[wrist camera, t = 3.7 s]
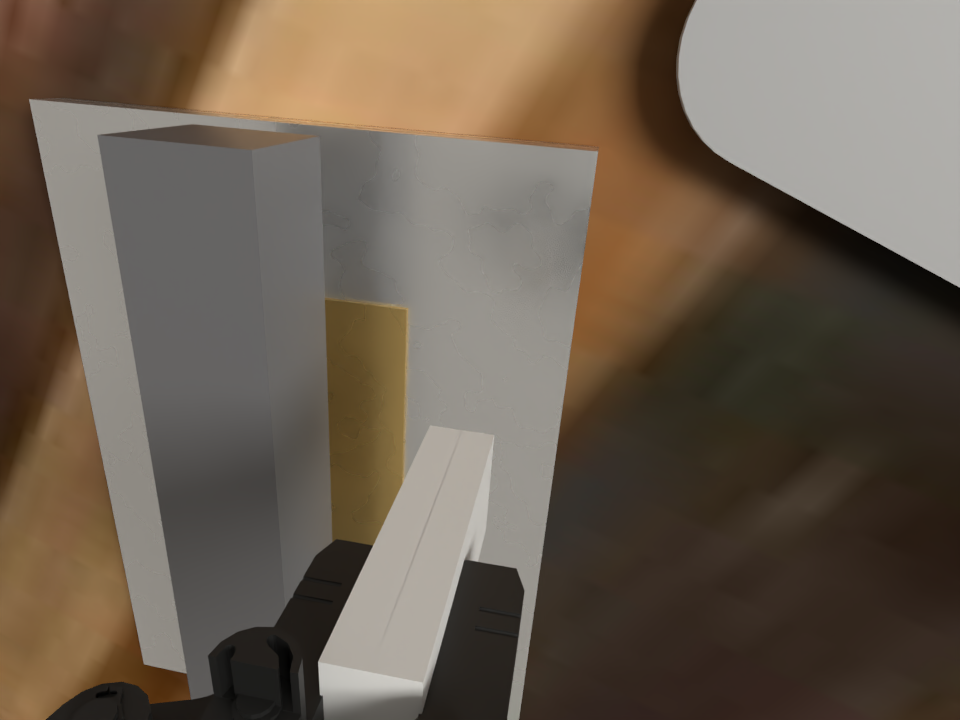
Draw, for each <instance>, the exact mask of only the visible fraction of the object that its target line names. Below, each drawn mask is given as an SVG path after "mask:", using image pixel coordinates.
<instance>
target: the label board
mask: <svg viewBox="0 0 960 720" xmlns="http://www.w3.org/2000/svg"><path fill="white" fill-rule="evenodd" d="M29 101H30V106H31V111H32V116H33V121H34V126H35V131H36V135H37V140H38V145H39V150H40V155H41V160H42V165H43V170H44V175H45V180H46V185H47V190H48V194H49V199H50V204H51V209H52V214H53V219H54V224H55V229H56V234H57V239H58V244H59V249H60V253H61V258H62V263H63V268H64V273H65V278H66V283H67V288H68V293H69V298H70V303H71V308H72V313H73V317H74V322H75V327H76V332H77V337H78V342H79V347H80V352H81V357H82V362H83V367H84V372H85V376H86V381H87V386H88V391H89V396H90V401H91V406H92V411H93V416H94V421H95V426H96V431H97V435H98V440H99V445H100V450H101V455H102V460H103V465H104V470H105V475H106V480H107V485H108V490H109V495H110V499H111V504H112V509H113V514H114V519H115V524H116V529H117V534H118V539H119V544H120V549H121V554H122V558H123V563H124V568H125V573H126V578H127V583H128V588H129V593H130V598H131V603H132V608H133V613H134V617H135V622H136V627H137V632H138V637H139V642H140V647H141V652H142V657H143V662H144V664H145V665H149V666H154V667H159V668H163V669H168V670H173V671H177V672H182V673H187V672H186V665H185V659H184V653H183V647H182V641H181V635H180V629H179V623H178V617H177V611H176V605H175V599H174V593H173V587H172V581H171V575H170V569H169V563H168V557H167V551H166V545H165V539H164V533H163V527H162V521H161V515H160V509H159V503H158V497H157V491H156V485H155V479H154V473H153V467H152V461H151V455H150V449H149V443H148V437H147V431H146V425H145V419H144V413H143V407H142V401H141V395H140V389H139V383H138V377H137V371H136V365H135V359H134V353H133V347H132V341H131V335H130V329H129V323H128V317H127V311H126V305H125V299H124V293H123V287H122V281H121V275H120V269H119V263H118V257H117V251H116V245H115V239H114V233H113V227H112V221H111V215H110V209H109V203H108V197H107V191H106V185H105V178H104V172H103V166H102V160H101V154H100V148H99V142H98V136H97V135H101V134H110V133H119V132H127V131H136V130H145V129H154V128H163V127H171V126H180V125H189V124H197V125H207V126H218V127H229V128H239V129H250V130H260V131H271V132H282V133H292V134H303V135H314V136H320V159H321V191H322V223H323V255H324V287H325V320H326V352H327V384H328V416H329V448H330V480H331V512H332V542H333V541H334V540H336V539H339V540H345V541H351V542H357V543H362V544H368V545H374V543H375V541H376V539H377V537H378V534H379V532H380V530H381V528H382V526H383V524H384V522H385V520H386V518H387V515H388V513H389V511H390V509H391V507H392V505H393V503H394V501H395V499H396V496H397V494H398V492H399V490H400V488H401V486H402V484H403V482H404V480H405V477H406V475H407V473H408V471H409V469H410V467H411V465H412V463H413V461H414V458H415V456H416V454H417V452H418V450H419V448H420V446H421V444H422V442H423V440H424V437H425V435H426V433H427V431H428V429H429V427H430V426H437V427H444V428H451V429H458V430H464V431H471V432H478V433H485V434H491V435H494V445H493V456H492V467H491V478H490V489H489V500H488V511H487V522H486V531H485V535H484V539H483V543H482V547H481V552H480V556H479V560H478V562H482V563H488V564H494V565H499V566H505V567H511V568H517V571H518V574H519V577H520V579H521V582H522V585H523V588H524V590H525V592H524V599H523V607H522V615H521V623H520V631H519V638H518V646H517V653H516V660H515V667H514V674H513V681H512V688H511V695H510V702H509V709H508V716H507V720H519V715H520V708H521V701H522V694H523V686H524V679H525V672H526V665H527V658H528V651H529V643H530V636H531V629H532V622H533V615H534V608H535V600H536V593H537V586H538V579H539V572H540V564H541V557H542V550H543V543H544V536H545V529H546V521H547V514H548V507H549V500H550V493H551V486H552V478H553V471H554V464H555V457H556V450H557V443H558V435H559V428H560V421H561V414H562V407H563V399H564V392H565V385H566V378H567V371H568V364H569V356H570V349H571V342H572V335H573V328H574V321H575V313H576V306H577V299H578V292H579V285H580V277H581V270H582V263H583V256H584V249H585V242H586V234H587V227H588V220H589V213H590V206H591V199H592V191H593V184H594V177H595V170H596V163H597V155H598V147H595V146H584V145H573V144H562V143H551V142H540V141H529V140H518V139H507V138H496V137H485V136H474V135H463V134H452V133H441V132H430V131H419V130H408V129H396V128H385V127H374V126H363V125H352V124H341V123H330V122H319V121H308V120H297V119H286V118H275V117H264V116H253V115H242V114H231V113H220V112H209V111H198V110H187V109H176V108H165V107H154V106H143V105H132V104H121V103H110V102H99V101H88V100H77V99H66V98H50V99H29Z"/></svg>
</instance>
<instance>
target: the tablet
mask: <svg viewBox="0 0 960 720" xmlns="http://www.w3.org/2000/svg"><path fill="white" fill-rule="evenodd" d="M676 80H677V87H678V95H679V98H680V101H681V105H682V108H683V111H684V113H685V115H686V117H687V119H688V121H689V123H690V125H691V127H692V128H693V130H694V131H695V133H696V134H697V135H698V137H699V138H700V139H701V140H702V141H703V142H704V143H705V144H706V145H707V146H708V147H709V148H710V149H711V150H712V151H713V152H715V153H716V154H718V155H719V156H721V157H722V158H724V159H725V160H727V161H728V162H730V163H732V164H734V165H736V166H737V167H739V168H741V169H743V170H745V171H747V172H748V173H750V174H752V175H754V176H756V177H758V178H759V179H761V180H763V181H765V182H767V183H769V184H770V185H772V186H774V187H776V188H778V189H780V190H781V191H783V192H785V193H787V194H789V195H791V196H792V197H794V198H796V199H798V200H800V201H802V202H804V203H805V204H807V205H809V206H811V207H813V208H815V209H816V210H818V211H820V212H822V213H824V214H826V215H827V216H829V217H831V218H833V219H835V220H837V221H838V222H840V223H842V224H844V225H846V226H848V227H849V228H851V229H853V230H855V231H857V232H859V233H861V234H862V235H864V236H866V237H868V238H870V239H872V240H873V241H875V242H877V243H879V244H881V245H883V246H884V247H886V248H888V249H890V250H892V251H894V252H895V253H897V254H899V255H901V256H903V257H905V258H906V259H908V260H910V261H912V262H914V263H916V264H917V265H919V266H921V267H923V268H925V269H927V270H929V271H930V272H932V273H934V274H936V275H938V276H940V277H941V278H943V279H945V280H947V281H949V282H951V283H952V284H954V285H956V286H958V287H960V0H695V1H694V3H693V5H692V8H691V10H690V12H689V14H688V16H687V18H686V21H685V24H684V27H683V30H682V33H681V36H680V40H679V46H678V52H677V58H676Z"/></svg>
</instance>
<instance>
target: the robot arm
mask: <svg viewBox="0 0 960 720" xmlns="http://www.w3.org/2000/svg"><path fill="white" fill-rule="evenodd" d="M493 445H494V435H491V434H485V433H478V432H471V431H464V430H458V429H451V428H444V427H437V426H430V427H429V429H428V431H427V433H426V435H425V437H424V440H423V442H422V444H421V446H420V448H419V450H418V452H417V454H416V456H415V458H414V461H413V463H412V465H411V467H410V469H409V471H408V473H407V475H406V477H405V480H404V482H403V484H402V486H401V488H400V490H399V492H398V494H397V496H396V499H395V501H394V503H393V505H392V507H391V509H390V511H389V513H388V515H387V518H386V520H385V522H384V524H383V526H382V528H381V530H380V532H379V534H378V537H377V539H376V541H375V543H374V545H368V544H362V543H357V542H351V541H345V540H339V539H336V540H334V541H333V542H332V543H331V544H329V545H328V546H327V547H326V548H324V549H323V550H322V551H320V552H319V553H318V554H317V555H315V557H314V559H313V561H312V562H311V564H310V566H309V568H308V569H307V571H306V573H305V574H304V576H303V580H301V581H300V583H299V585H298V586H297V588H296V590H295V592H294V593H293V597H292V598H290V600H289V602H288V604H287V605H286V607H285V609H284V610H283V612H282V614H281V616H280V617H279V619H278V621H277V622H276V624H275V626H274V627H253V628H249V629H246V630H242V631H238V632H236V633H235V634H233V635H231V636H230V637H228V638H226V639H224V640H223V641H221V642H220V643H219V644H218V645H217V646H216V647H215V648H214V649H213V651H212V652H211V653H210V654H209V655H208V660H209V667H210V673H211V679H212V686H213V692H214V694H212V695H209V696H207V697H202V698H197V699H192V700H184V701H174V702H165V703H156V704H149V700H148V695H147V694H145V693H144V692H143V691H142V690H141V689H140V688H139V687H138V686H136V685H132V684H128V683H124V682H116V683H106V684H101V685H98V686H96V687H93V688H90V689H88V690H85V691H83V692H81V693H79V694H78V695H77V696H75V697H74V698H72V699H71V700H69V701H68V702H66V703H65V704H63V705H62V706H61V707H60V708H59V709H58V710H56V711H55V712H54V713H53V714H52V715H51V716H49V717H48V718H47V719H46V720H507V716H508V709H509V702H510V695H511V688H512V681H513V674H514V667H515V660H516V653H517V646H518V638H519V631H520V623H521V615H522V607H523V599H524V592H525V590H524V588H523V585H522V582H521V579H520V577H519V574H518V571H517V568H511V567H505V566H499V565H494V564H488V563H482V562H478V560H479V556H480V552H481V547H482V543H483V539H484V535H485V531H486V522H487V511H488V500H489V489H490V478H491V467H492V456H493Z"/></svg>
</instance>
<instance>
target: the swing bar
mask: <svg viewBox="0 0 960 720" xmlns="http://www.w3.org/2000/svg"><path fill="white" fill-rule="evenodd" d="M97 136H98V142H99V148H100V154H101V160H102V166H103V172H104V178H105V185H106V191H107V197H108V203H109V209H110V215H111V221H112V227H113V233H114V239H115V245H116V251H117V257H118V263H119V269H120V275H121V281H122V287H123V293H124V299H125V305H126V311H127V317H128V323H129V329H130V335H131V341H132V347H133V353H134V359H135V365H136V371H137V377H138V383H139V389H140V395H141V401H142V407H143V413H144V419H145V425H146V431H147V437H148V443H149V449H150V455H151V461H152V467H153V473H154V479H155V485H156V491H157V497H158V503H159V509H160V515H161V521H162V527H163V533H164V539H165V545H166V551H167V557H168V563H169V569H170V575H171V581H172V587H173V593H174V599H175V605H176V611H177V617H178V623H179V629H180V635H181V641H182V647H183V653H184V659H185V665H186V672H187V678H188V684H189V690H190V696H191V700H192V699H197V698H202V697H207V696H209V695H212V694H214V692H213V686H212V679H211V673H210V667H209V660H208V655H209V654H210V653H211V652H212V651H213V649H214V648H215V647H216V646H217V645H218V644H219V643H220V642H221V641H223V640H224V639H226V638H228V637H230V636H231V635H233V634H235V633H236V632H238V631H242V630H246V629H249V628H253V627H274V626H275V624H276V622H277V621H278V619H279V617H280V616H281V614H282V612H283V610H284V609H285V607H286V605H287V604H288V602H289V600H290V598H292V597H293V593H294V592H295V590H296V588H297V586H298V585H299V583H300V581H301V580H303V576H304V574H305V573H306V571H307V569H308V568H309V566H310V564H311V562H312V561H313V559H314V557H315V555H317V554H318V553H319V552H320V551H322V550H323V549H324V548H326V547H327V546H328V545H329V544H331V543H332V512H331V480H330V448H329V416H328V384H327V352H326V320H325V287H324V255H323V223H322V191H321V159H320V136H314V135H303V134H292V133H282V132H271V131H260V130H250V129H239V128H229V127H218V126H207V125H197V124H189V125H180V126H171V127H163V128H154V129H145V130H136V131H127V132H119V133H110V134H101V135H97Z"/></svg>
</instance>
